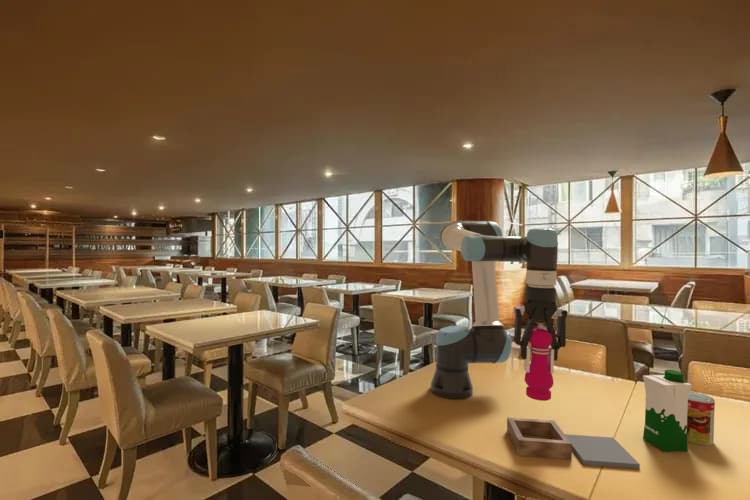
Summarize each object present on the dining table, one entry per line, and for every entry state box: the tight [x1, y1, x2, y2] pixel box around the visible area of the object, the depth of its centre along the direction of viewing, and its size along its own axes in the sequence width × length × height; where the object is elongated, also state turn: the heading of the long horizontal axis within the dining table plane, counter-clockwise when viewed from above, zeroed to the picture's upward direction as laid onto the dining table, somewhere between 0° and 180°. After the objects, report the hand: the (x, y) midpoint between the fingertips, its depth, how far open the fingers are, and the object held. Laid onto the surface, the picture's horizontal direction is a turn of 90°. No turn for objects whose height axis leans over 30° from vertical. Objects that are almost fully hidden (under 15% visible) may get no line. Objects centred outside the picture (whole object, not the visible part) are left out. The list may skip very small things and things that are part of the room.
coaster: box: [564, 433, 641, 470], centre depth 101 cm, size 13×13×1 cm
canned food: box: [687, 391, 716, 447], centre depth 109 cm, size 8×8×12 cm
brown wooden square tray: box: [506, 416, 573, 460], centre depth 105 cm, size 13×13×4 cm
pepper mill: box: [524, 322, 554, 402], centre depth 104 cm, size 7×7×20 cm
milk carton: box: [642, 369, 693, 453], centre depth 106 cm, size 9×9×20 cm
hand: (538, 371), depth 105 cm, fingers closed on pepper mill, 5 cm apart
